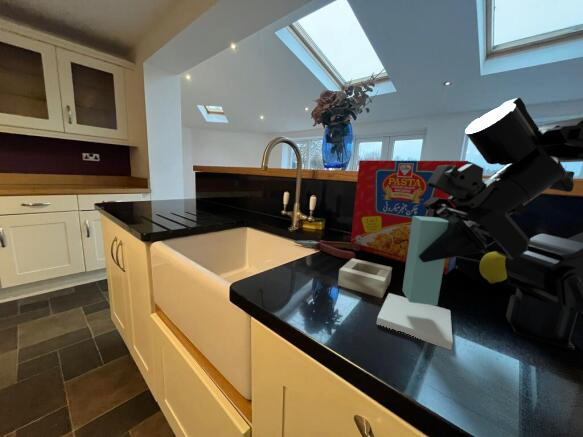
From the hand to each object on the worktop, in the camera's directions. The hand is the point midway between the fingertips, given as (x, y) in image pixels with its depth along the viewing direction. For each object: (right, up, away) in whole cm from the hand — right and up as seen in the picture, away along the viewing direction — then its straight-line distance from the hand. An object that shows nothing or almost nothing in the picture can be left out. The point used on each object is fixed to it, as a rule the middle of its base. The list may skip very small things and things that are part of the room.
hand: (415, 255), depth 39 cm
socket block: (-4, -8, +15) cm, 17 cm away
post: (+1, -7, +1) cm, 7 cm away
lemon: (+27, -10, +19) cm, 35 cm away
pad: (+1, -11, +2) cm, 11 cm away
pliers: (-7, -5, +39) cm, 40 cm away
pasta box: (+12, -6, +36) cm, 38 cm away
